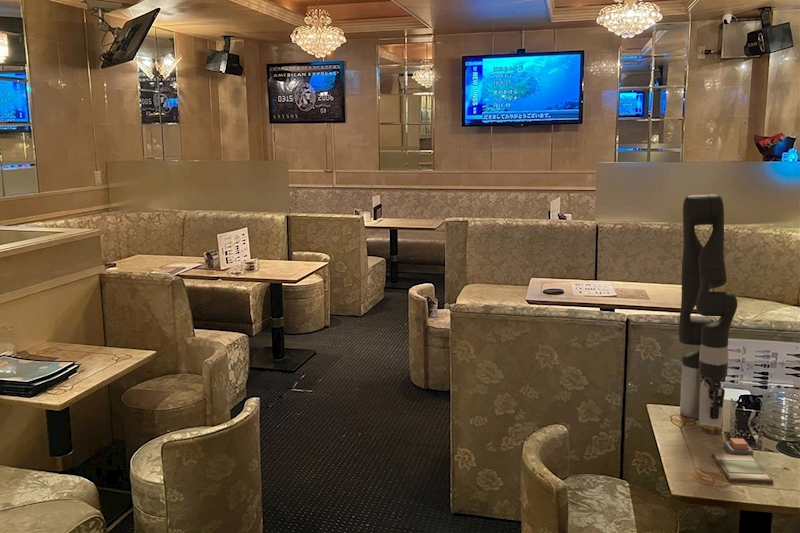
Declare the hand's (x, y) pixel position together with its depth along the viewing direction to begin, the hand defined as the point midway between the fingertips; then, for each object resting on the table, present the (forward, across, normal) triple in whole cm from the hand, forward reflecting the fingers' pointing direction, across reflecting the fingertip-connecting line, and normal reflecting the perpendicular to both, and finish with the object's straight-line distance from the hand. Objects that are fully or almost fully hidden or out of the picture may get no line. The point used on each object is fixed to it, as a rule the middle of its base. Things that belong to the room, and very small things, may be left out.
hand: (710, 414), depth 195 cm
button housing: (+11, +2, +8) cm, 14 cm away
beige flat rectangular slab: (+11, +13, +5) cm, 17 cm away
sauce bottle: (+12, -13, +5) cm, 18 cm away
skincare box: (+3, 0, 0) cm, 3 cm away
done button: (+10, +2, +8) cm, 12 cm away
